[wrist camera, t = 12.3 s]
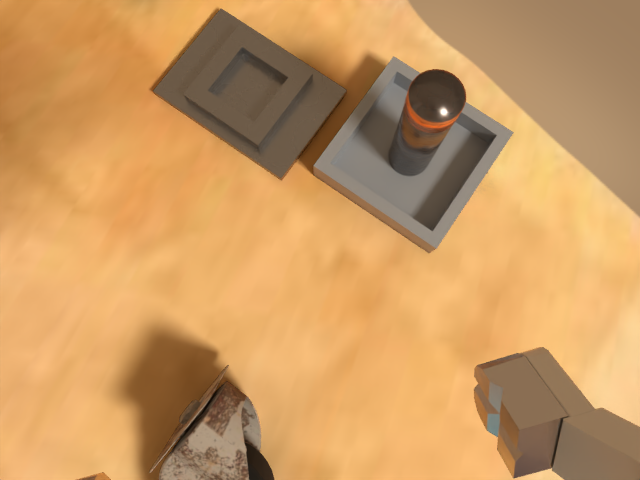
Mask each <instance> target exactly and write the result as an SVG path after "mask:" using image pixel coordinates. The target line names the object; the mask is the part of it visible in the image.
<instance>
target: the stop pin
mask: <svg viewBox="0 0 640 480" xmlns="http://www.w3.org/2000/svg"><path fill="white" fill-rule="evenodd" d="M465 102H466V92H465V89H464V86H463V84H462V83H461V81H460V80H459V79H458V78H457V77H456V76H455V75H453V74H452V73H450V72H447V71H444V70H439V69H433V70H428V71H425V72H422V73H421V74H419V75H418V76H416V77H415V78H414V80H413V81H412V82H411V84H410V86H409V89H408V92H407V95H406V98H405V102H404V107H403V110H402V113H401V116H400V119H399V122H398V125H397V128H396V131H395V134H394V138H393V141H392V144H391V147H390V150H389V155H388V157H389V162H390V165H391V166H392V168H393V169H394V170H395V171H396V172H398V173H399V174H401V175H404V176H415V175H418V174H420V173H422V172H423V171H424V170H425V169H426V168H427V167H428V165H429V163H430V162H431V160H432V158H433V157H434V155H435V153H436V152H437V150H438V148H439V147H440V145H441V143H442V142H443V140H444V138H445V137H446V135H447V133H448V132H449V130H450V128H451V127H452V125H453V124H454V123H455V121H456V120H457V118H458V116H459V115H460V113H461V112H462V110H463V108H464V106H465Z"/></svg>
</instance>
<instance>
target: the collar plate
mask: <svg viewBox="0 0 640 480" xmlns="http://www.w3.org/2000/svg"><path fill="white" fill-rule="evenodd" d="M153 92H154V93H155V95H157V96H158V97H160V98H161V99H163V100H164V101H166V102H167V103H169V104H170V105H171V106H173V107H174V108H176V109H177V110H179V111H180V112H182V113H183V114H185V115H186V116H188V117H189V118H191V119H192V120H193V121H195V122H196V123H198V124H199V125H201V126H202V127H204V128H205V129H207V130H208V131H210V132H211V133H213V134H214V135H215V136H217V137H218V138H220V139H221V140H223V141H224V142H226V143H227V144H229V145H230V146H232V147H233V148H235V149H236V150H237V151H239V152H240V153H242V154H243V155H245V156H246V157H248V158H249V159H251V160H252V161H254V162H255V163H257V164H258V165H259V166H261V167H262V168H264V169H265V170H267V171H268V172H270V173H271V174H273V175H274V176H276V177H277V178H279V179H280V180H281V181H282V179H283V178H284V177H285V175H286V174H287V173H288V171H289V170H290V169H291V167H292V166H293V165H294V163H295V162H296V160H297V159H298V158H299V156H300V155H301V154H302V152H303V151H304V150H305V148H306V147H307V146H308V144H309V143H310V142H311V140H312V139H313V138H314V136H315V135H316V134H317V132H318V131H319V130H320V128H321V127H322V125H323V124H324V123H325V121H326V120H327V119H328V117H329V116H330V115H331V113H332V112H333V111H334V109H335V108H336V107H337V105H338V104H339V103H340V101H341V100H342V99H343V97H344V96H345V94H346V93H347V90H346V89H344V88H343V87H341V86H340V85H338V84H337V83H335V82H334V81H332V80H331V79H329V78H328V77H326V76H324V75H323V74H321V73H320V72H318V71H317V70H315V69H314V68H312V67H311V66H309V65H308V64H306V63H304V62H303V61H301V60H300V59H298V58H297V57H295V56H294V55H292V54H291V53H289V52H287V51H286V50H284V49H283V48H281V47H280V46H278V45H277V44H275V43H274V42H272V41H271V40H269V39H267V38H266V37H264V36H263V35H261V34H260V33H258V32H257V31H255V30H254V29H252V28H251V27H249V26H247V25H246V24H244V23H243V22H241V21H240V20H238V19H237V18H235V17H234V16H232V15H231V14H229V13H227V12H226V11H224V10H223V9H220V10H219V11H218V13H217V14H216V15H215V16H214V17H213V19H212V20H211V21H210V22H209V23H208V25H207V26H206V27H205V28H204V30H203V31H202V32H201V33H200V34H199V36H198V37H197V38H196V39H195V41H194V42H193V43H192V44H191V45H190V47H189V48H188V49H187V50H186V51H185V53H184V54H183V55H182V56H181V58H180V59H179V60H178V61H177V62H176V64H175V65H174V66H173V67H172V69H171V70H170V71H169V72H168V73H167V75H166V76H165V77H164V78H163V79H162V81H161V82H160V83H159V84H158V86H157V87H156V88H155V89H154V90H153Z"/></svg>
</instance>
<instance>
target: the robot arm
mask: <svg viewBox="0 0 640 480" xmlns="http://www.w3.org/2000/svg"><path fill="white" fill-rule="evenodd" d="M474 377H475V378H476V380H477V382H478V385H477V386H476V387H475V388H474V399H475V403H476V407H477V411H478V413H479V416H480V418H481V420H482V422H483V424H484V426H485V428H486V430H487V431H489V432H490V433H492V434H493V435H495V436H497V437H498V445H497V450H498V452H499V453H500V455H501V457H502V459H503V461H504V463H505V464H506V466H507V468H508V470H509V472H510V473H511V475H512V477H513V478H517V477H521V476H525V475H528V474H532V473H536V472H539V471H543V470H547V469H551V468H552V471H554V472H555V473H556V474H558V475H559V476H560V477H562V478H563V479H564V480H640V427H639V426H637V425H635V424H633V423H631V422H629V421H627V420H625V419H623V418H621V417H619V416H617V415H615V414H613V413H612V412H610V411H608V410H606V409H604V408H598V409H594V407H593V406H592V405H591V404H590V402H589V401H588V400H587V399H586V397H585V396H584V395H583V393H582V392H581V391H580V390H579V388H578V387H577V386H576V385H575V383H574V382H573V381H572V380H571V378H570V377H569V376H568V375H567V373H566V372H565V371H564V370H563V368H562V367H561V366H560V365H559V363H558V362H557V361H556V360H555V358H554V357H553V356H552V355H551V353H550V352H549V351H548V350H547V349H545V348H543V347H539V348H535V349H532V350H529V351H526V352H522V353H516V354H513V355H510V356H506V357H503V358H500V359H497V360H493V361H490V362H487V363H483V364H480V365H477V366H476V367H475V372H474ZM77 480H111V479H110V478H109V477H108V476H107V475H106V474H105V473H104V472H102V473H98V474H95V475H91V476H88V477H84V478H80V479H77Z"/></svg>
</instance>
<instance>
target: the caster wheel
mask: <svg viewBox="0 0 640 480" xmlns="http://www.w3.org/2000/svg"><path fill="white" fill-rule="evenodd" d="M228 366H229V365H227V366H226V367H225V369H224V370H223V371H222V372H221V374H220V375H219V376H218V377H217V379H216V380H215V381H214V382H213V384H212V385H211V386H210V387H209V389H208V390H207V391H206V392H205V394H204V395H203V396H202V397H201V399H200V400H199V401H197V400H194V401H192V402H191V403H190V404H189V406H188V407H187V408H186V409H185V411H184V412H183V413H182V415H181V416H180V419H179V422H180V425H179V426H178V427H177V429H176V430H175V432H174V434H173V435H172V437H171V438H170V440H169V441H168V443H167V445H166V446H165V448H164V449H163V451H162V452H161V454H160V456H159V457H158V459H157V460H156V462H155V463H154V465H153V467H152V468H151V470H150V471H149V473H150V472H152V470H153V469H154V468H155V467H156V465H157V464H158V463H159V462H160V461H161V459H162V458H163V457H164V456H165V454H166V453H167V452H168V451H169V449H170V448H171V447H172V446H173V444H174V443H175V442H176V441H177V440H178V438H180V439H179V441H178V442H177V443H176V445H175V446H174V448H173V449H172V451H171V452H170V453H169V455H168V456H167V458H166V459H165V461H164V463H163V464H162V466H161V469H160V472H159V480H274V477H273V473H272V470H271V468H270V466H269V464H268V462H267V461H266V459H265V458H264V457H263V455H262V454H261V453H260V446H261V428H260V422H259V418H258V415H257V412H256V410H255V408H254V406H253V404H252V402H251V401H250V399H249V398H248V397H247V396H246V395H245V394H243V393H242V392H241V391H239V390H238V389H237V388H235V387H234V386H233V385H232V384H230V383H229V382H224V383H223V384H222V385H221V386H220V387H219V389H218V390H217V391H216V392H215V393H214V391H215V389H216V387H217V386H218V384H219V382H220V380H221V379H222V377H223V375H224V373H225V371H226V370H227V368H228ZM213 393H214V394H213ZM212 394H213V395H212Z"/></svg>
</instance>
